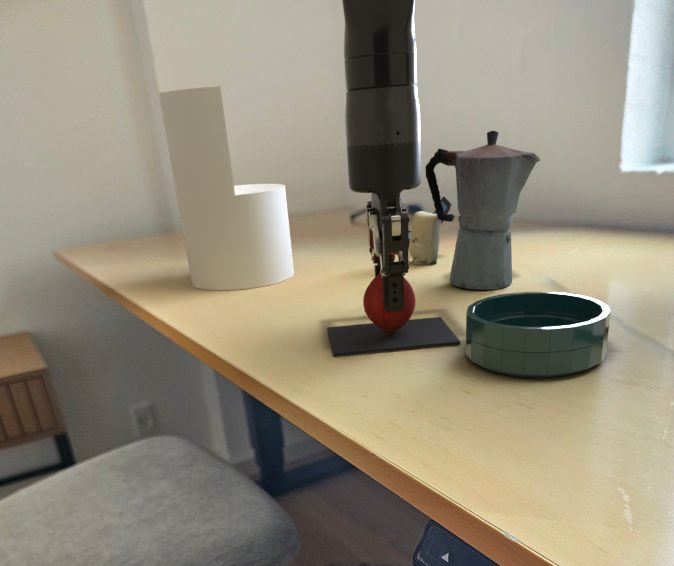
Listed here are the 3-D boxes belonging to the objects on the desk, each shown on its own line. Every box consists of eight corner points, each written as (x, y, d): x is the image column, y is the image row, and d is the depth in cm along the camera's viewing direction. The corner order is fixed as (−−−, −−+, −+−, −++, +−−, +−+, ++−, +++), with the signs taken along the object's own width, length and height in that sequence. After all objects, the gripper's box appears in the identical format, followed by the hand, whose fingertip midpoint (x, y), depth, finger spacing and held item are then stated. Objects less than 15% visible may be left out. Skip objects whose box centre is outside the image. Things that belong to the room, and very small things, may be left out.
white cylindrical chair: (192, 295, 102) (156, 90, 89) (191, 273, 117) (160, 96, 104) (301, 282, 104) (282, 81, 92) (286, 262, 120) (268, 87, 107)
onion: (382, 324, 79) (379, 256, 76) (425, 329, 76) (424, 259, 72) (356, 338, 75) (351, 267, 72) (399, 344, 72) (397, 270, 68)
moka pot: (530, 292, 89) (540, 128, 80) (418, 291, 94) (415, 137, 84) (535, 276, 97) (544, 125, 88) (431, 276, 102) (430, 133, 92)
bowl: (571, 332, 73) (576, 286, 70) (629, 373, 61) (636, 321, 59) (452, 343, 72) (453, 298, 70) (486, 387, 60) (488, 335, 58)
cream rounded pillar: (447, 259, 112) (447, 210, 108) (436, 266, 108) (436, 215, 104) (415, 258, 114) (414, 210, 111) (404, 265, 110) (403, 215, 107)
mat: (440, 319, 81) (440, 316, 80) (460, 344, 72) (460, 341, 71) (327, 330, 80) (327, 327, 80) (333, 356, 71) (333, 353, 71)
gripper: (434, 137, 60) (435, 317, 68) (407, 134, 73) (411, 286, 81) (353, 144, 60) (363, 324, 68) (340, 140, 73) (350, 291, 80)
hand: (389, 302), depth 74 cm, fingers closed on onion, 6 cm apart
